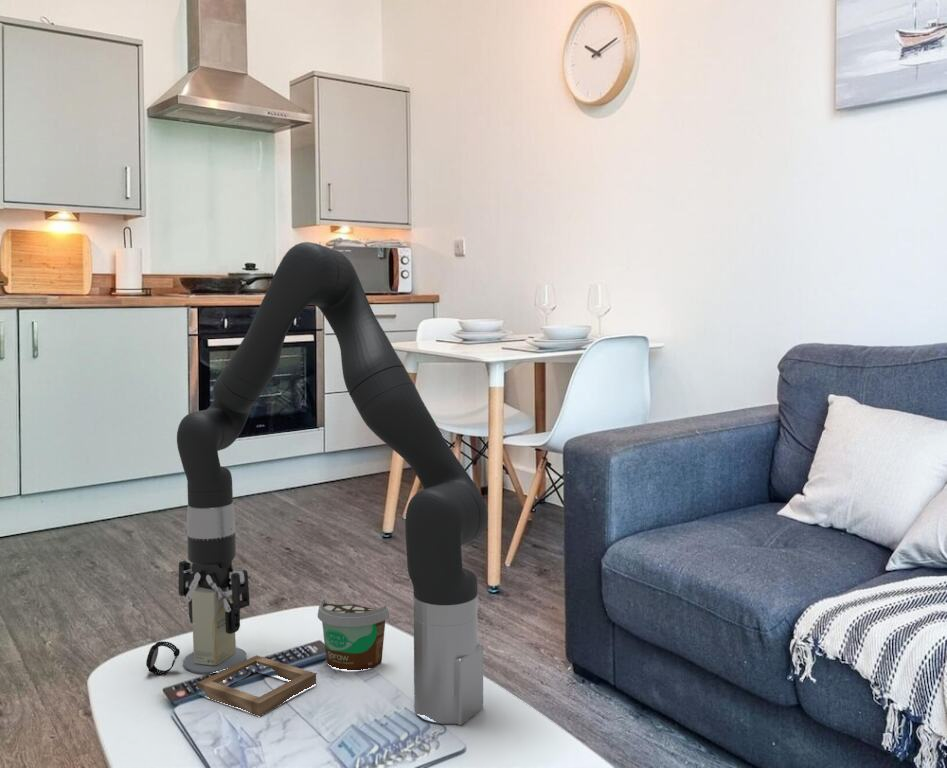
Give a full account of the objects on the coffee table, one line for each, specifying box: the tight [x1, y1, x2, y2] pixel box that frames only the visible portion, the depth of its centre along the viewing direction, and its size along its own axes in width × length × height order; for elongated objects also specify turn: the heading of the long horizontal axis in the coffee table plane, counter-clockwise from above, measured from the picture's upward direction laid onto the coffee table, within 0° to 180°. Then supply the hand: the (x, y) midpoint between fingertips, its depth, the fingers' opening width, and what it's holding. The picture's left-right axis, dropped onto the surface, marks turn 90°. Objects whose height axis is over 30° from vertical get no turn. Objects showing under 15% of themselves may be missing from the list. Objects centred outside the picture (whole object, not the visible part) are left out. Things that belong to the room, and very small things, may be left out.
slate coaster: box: [183, 646, 247, 675], centre depth 142 cm, size 10×10×1 cm
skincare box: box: [192, 587, 237, 666], centre depth 142 cm, size 6×4×12 cm
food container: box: [317, 597, 390, 670], centre depth 140 cm, size 12×6×10 cm, turn 73°
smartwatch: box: [145, 640, 181, 676], centre depth 137 cm, size 4×5×5 cm
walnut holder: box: [196, 654, 317, 717], centre depth 131 cm, size 13×12×2 cm
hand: (214, 627), depth 142 cm, fingers open, 8 cm apart
